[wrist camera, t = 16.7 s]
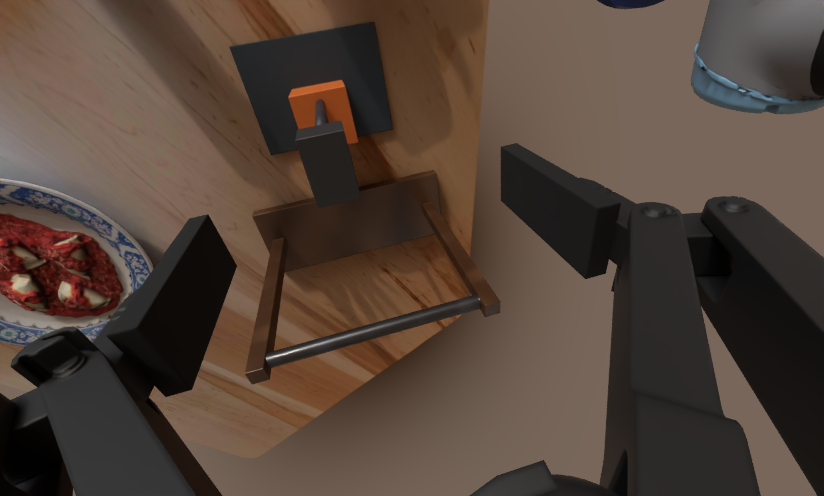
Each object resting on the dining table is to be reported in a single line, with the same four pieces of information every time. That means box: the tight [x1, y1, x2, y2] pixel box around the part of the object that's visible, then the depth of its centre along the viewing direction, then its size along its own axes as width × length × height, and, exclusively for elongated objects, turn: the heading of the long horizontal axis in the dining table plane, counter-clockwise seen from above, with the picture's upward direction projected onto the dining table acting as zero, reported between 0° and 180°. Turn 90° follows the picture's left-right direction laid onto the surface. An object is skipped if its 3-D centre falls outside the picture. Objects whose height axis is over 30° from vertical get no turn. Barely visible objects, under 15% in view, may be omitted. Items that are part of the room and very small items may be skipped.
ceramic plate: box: [0, 178, 154, 346], centre depth 43 cm, size 26×26×3 cm
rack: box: [245, 170, 500, 384], centre depth 41 cm, size 26×10×24 cm, turn 99°
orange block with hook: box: [288, 80, 361, 208], centre depth 32 cm, size 6×6×22 cm
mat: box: [230, 22, 393, 155], centre depth 41 cm, size 16×12×1 cm
